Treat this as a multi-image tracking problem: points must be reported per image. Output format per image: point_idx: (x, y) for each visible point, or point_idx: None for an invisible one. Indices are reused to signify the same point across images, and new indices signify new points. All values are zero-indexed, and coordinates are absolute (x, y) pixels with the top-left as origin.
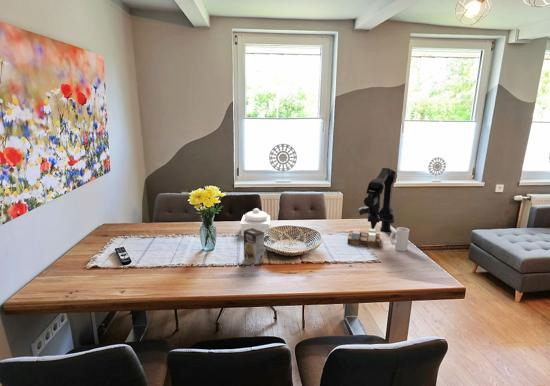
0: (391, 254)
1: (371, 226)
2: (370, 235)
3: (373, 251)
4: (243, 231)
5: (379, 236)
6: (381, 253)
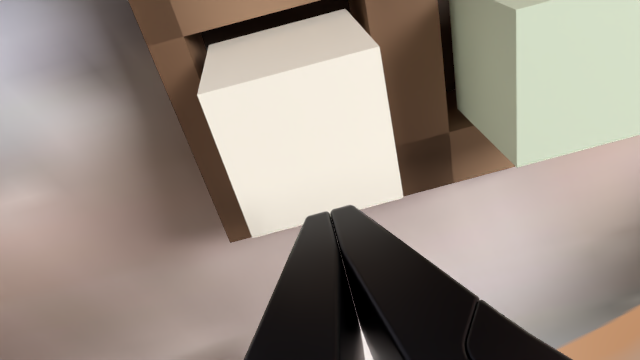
0: (119, 344)
1: (281, 278)
2: (214, 135)
3: (37, 169)
4: None
5: (508, 165)
6: (57, 264)
